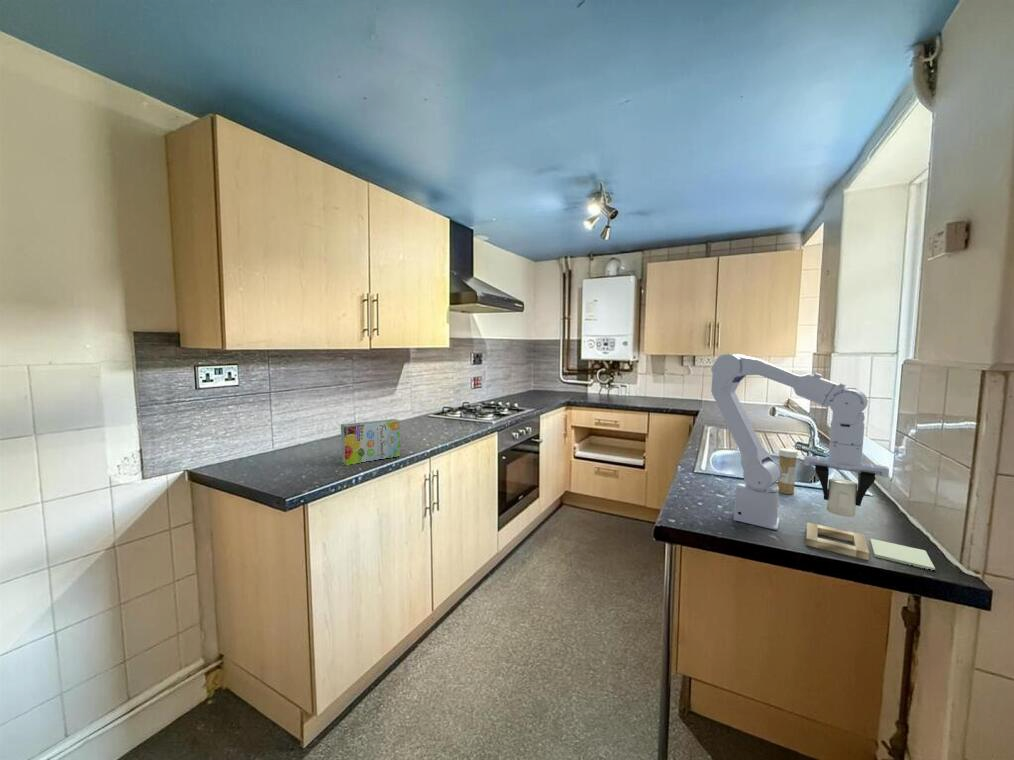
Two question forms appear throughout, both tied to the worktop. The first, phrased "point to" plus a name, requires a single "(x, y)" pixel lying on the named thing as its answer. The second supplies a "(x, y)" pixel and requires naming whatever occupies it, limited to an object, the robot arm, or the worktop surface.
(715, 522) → the worktop surface
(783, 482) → the sprinkles bottle
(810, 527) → the collar
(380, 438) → the snack box
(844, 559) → the worktop surface
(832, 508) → the jug
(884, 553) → the sage board
